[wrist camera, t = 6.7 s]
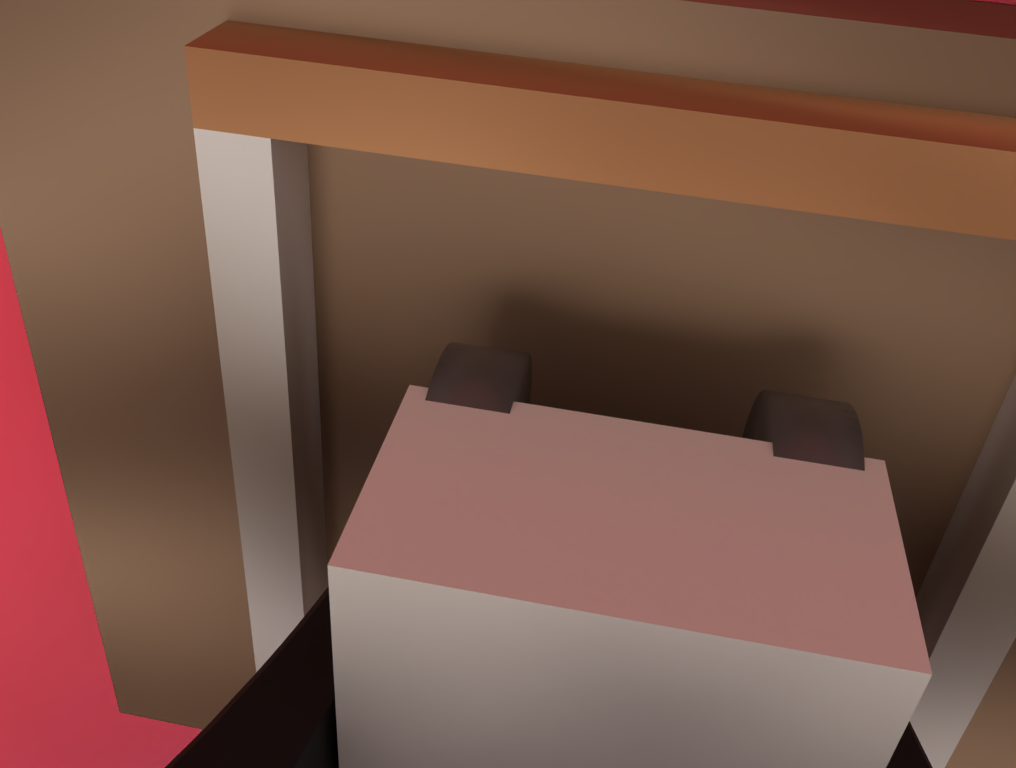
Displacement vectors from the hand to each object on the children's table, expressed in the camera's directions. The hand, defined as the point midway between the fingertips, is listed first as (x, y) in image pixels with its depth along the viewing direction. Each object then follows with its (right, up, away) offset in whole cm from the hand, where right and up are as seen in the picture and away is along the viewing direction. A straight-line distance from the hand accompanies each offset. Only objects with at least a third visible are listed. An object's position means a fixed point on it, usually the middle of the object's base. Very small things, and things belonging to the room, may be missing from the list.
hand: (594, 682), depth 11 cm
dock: (+1, +2, +3) cm, 4 cm away
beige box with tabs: (0, +1, +2) cm, 2 cm away
